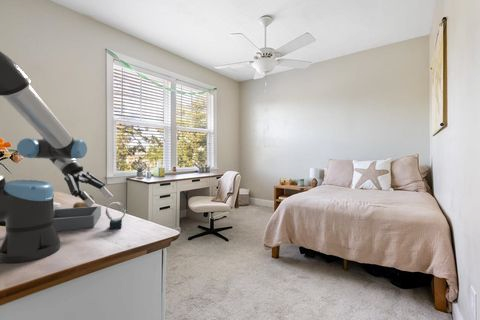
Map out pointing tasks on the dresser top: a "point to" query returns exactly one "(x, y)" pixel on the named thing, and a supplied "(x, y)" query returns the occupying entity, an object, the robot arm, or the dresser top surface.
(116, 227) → the watch
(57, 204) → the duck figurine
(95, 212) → the tray
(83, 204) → the lion figurine
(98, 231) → the dresser top surface
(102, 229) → the dresser top surface
